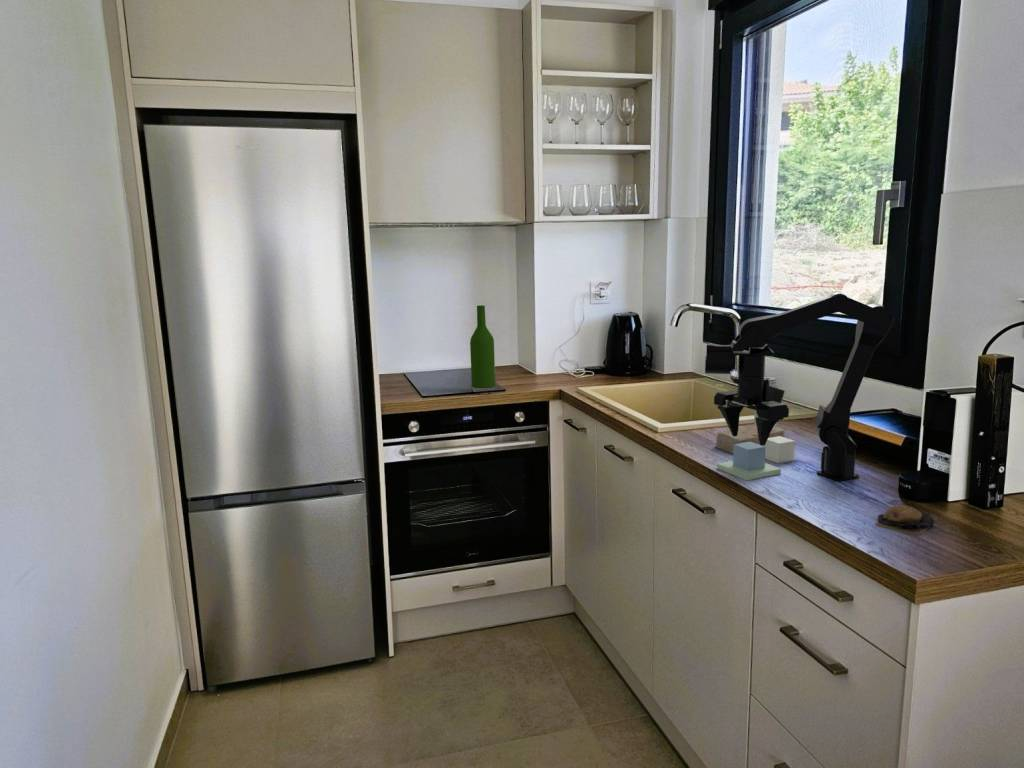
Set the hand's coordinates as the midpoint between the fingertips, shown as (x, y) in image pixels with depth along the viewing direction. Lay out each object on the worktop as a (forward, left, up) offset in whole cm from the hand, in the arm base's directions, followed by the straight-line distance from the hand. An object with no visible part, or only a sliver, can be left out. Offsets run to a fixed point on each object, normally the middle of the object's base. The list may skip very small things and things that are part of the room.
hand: (748, 440), depth 163 cm
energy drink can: (+27, -30, -8) cm, 41 cm away
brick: (+16, -15, -8) cm, 23 cm away
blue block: (0, 0, -6) cm, 6 cm away
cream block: (+4, -13, -8) cm, 16 cm away
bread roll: (-38, -4, -8) cm, 39 cm away
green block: (0, 0, -7) cm, 7 cm away
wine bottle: (+119, +20, -8) cm, 121 cm away
